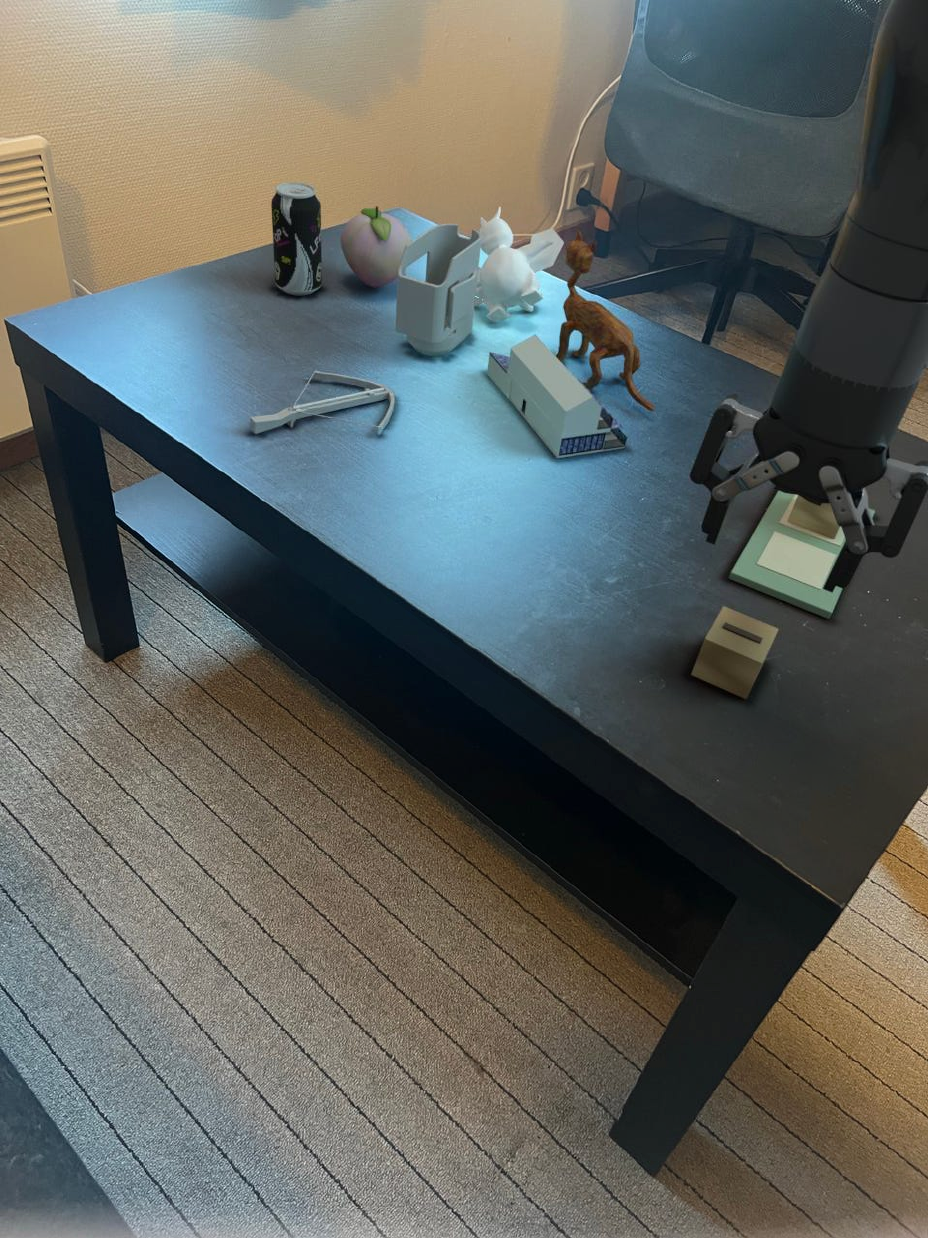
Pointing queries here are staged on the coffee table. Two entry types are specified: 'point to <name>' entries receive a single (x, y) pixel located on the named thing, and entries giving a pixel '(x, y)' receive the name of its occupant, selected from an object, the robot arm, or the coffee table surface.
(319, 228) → the beverage can
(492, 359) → the building
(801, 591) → the word board
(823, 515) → the light wooden cube
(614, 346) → the cat figurine
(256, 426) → the crossbow
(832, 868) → the coffee table surface
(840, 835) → the coffee table surface
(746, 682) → the tan cube
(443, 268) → the cable organizer
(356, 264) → the decorative fruit
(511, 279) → the character figurine
